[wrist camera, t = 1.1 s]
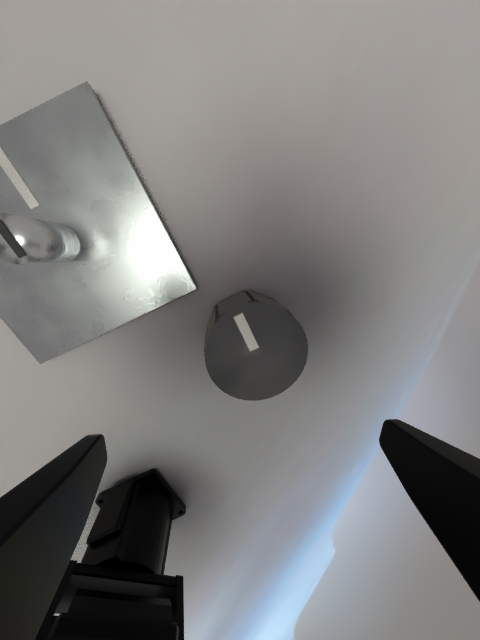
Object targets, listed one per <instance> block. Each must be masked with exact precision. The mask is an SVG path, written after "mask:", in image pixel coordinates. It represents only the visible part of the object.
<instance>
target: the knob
mask: <svg viewBox="0 0 480 640" xmlns="http://www.w3.org/2000/svg"><path fill="white" fill-rule="evenodd" d="M217 304H218V306H214V309H213V312H212V315H211V318H210V321H209V324H208V327H207V329H206V335H205V346H204V351H205V355H204V356H205V362H206V367H207V370H208V373H209V375H210V377H211V379H212V380H213V382H214V383H215V384H216V385H217V386H218V387H219V388H220V389H221V390H222V391H224V392H225V393H227V394H228V395H230V396H233V397H235V398H238V399H243V400H262V399H267V398H271V397H273V396H276V395H278V394H280V393H281V392H283V391H285V390H286V389H287V388H289V387H290V386H291V385H292V384H293V383H294V382H295V381H296V380H297V378H298V377H299V376H300V374H301V372H302V370H303V368H304V366H305V363H306V360H307V354H308V344H307V338H306V335H305V332H304V330H303V328H302V327H301V325H300V324H299V322H298V321H297V320H296V319H295V318H294V317H293V316H292V314H291V313H290V312H288V310H287V309H285V308H284V307H283V306H281V305H280V304H279V303H277V302H276V301H275V300H274V299H271V298H268V297H266V296H263V295H260V294H257V293H254V292H252V291H249V290H247V292H246V293H245V292H244V291H241V292H238V293H236V294H234V295H232V296H230V297H228V298H226V299H224V300H222V301H220V302H218V303H217Z"/></svg>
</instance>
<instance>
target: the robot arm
mask: <svg viewBox="0 0 480 640" xmlns="http://www.w3.org/2000/svg"><path fill="white" fill-rule="evenodd" d="M379 442H380V446H381V448H382V450H383V452H384V453H385V455H386V457H387V459H388V460H389V462H390V464H391V466H392V467H393V469H394V471H395V473H396V474H397V476H398V478H399V480H400V481H401V483H402V485H403V487H404V488H405V490H406V492H407V493H408V495H409V496H410V498H411V500H412V502H413V503H414V505H415V506H416V508H417V509H418V511H419V512H420V514H421V515H422V517H423V518H424V520H425V521H426V523H427V524H428V525H429V527H430V529H431V530H432V531H433V533H434V534H435V536H436V537H437V539H438V540H439V542H440V543H441V545H442V546H443V548H444V549H445V551H446V552H447V554H448V555H449V557H450V558H451V560H452V561H453V563H454V564H455V566H456V567H457V568H458V570H459V572H460V573H461V575H462V576H463V578H464V579H465V581H466V582H467V584H468V585H469V587H470V588H471V590H472V591H473V593H474V594H475V596H476V597H477V599H478V600H479V601H480V459H479V458H477V457H475V456H472V455H470V454H468V453H466V452H464V451H462V450H460V449H458V448H456V447H454V446H452V445H450V444H448V443H446V442H444V441H442V440H439V439H437V438H435V437H433V436H431V435H429V434H427V433H425V432H423V431H421V430H419V429H417V428H414V427H413V426H411V425H409V424H407V423H405V422H402V421H400V420H397V419H390V420H385V421H384V423H383V426H382V430H381V434H380V438H379ZM106 463H107V451H106V445H105V439H104V436H103V435H101V434H96V435H87V436H85V437H84V438H82V439H81V440H80V441H78V442H77V443H75V444H74V445H73V446H71V447H70V448H69V449H67V450H66V451H64V452H63V453H62V454H60V455H59V456H57V457H56V458H55V459H53V460H52V461H50V462H49V463H48V464H46V465H45V466H44V467H42V468H41V469H39V470H38V471H37V472H35V473H34V474H32V475H31V476H30V477H28V478H27V479H25V480H24V481H23V482H21V483H20V484H19V485H17V486H16V487H14V488H13V489H12V490H10V491H9V492H7V493H6V494H5V495H3V496H2V497H0V640H184V605H183V576H180V575H176V577H175V576H168V575H164V568H165V562H166V555H167V549H168V542H169V536H170V529H171V523H172V520H174V519H176V518H178V517H180V516H182V515H184V514H185V512H186V506H185V505H184V504H183V502H182V501H181V500H180V499H179V497H178V496H177V495H176V494H175V493H174V491H173V490H172V489H171V488H170V486H169V485H168V484H167V483H166V481H165V480H164V479H163V478H162V476H161V475H160V474H159V473H158V472H157V471H156V470H151V471H148V472H146V473H144V474H142V475H140V476H138V477H136V478H133V479H131V480H129V481H127V482H125V483H123V484H121V485H118V486H116V487H114V488H112V489H110V490H108V491H106V492H103V493H101V494H99V495H98V497H97V499H96V501H95V502H96V504H97V505H98V506H99V507H100V508H101V509H100V511H99V513H98V515H97V518H96V520H95V522H94V525H93V527H92V529H91V531H90V534H89V536H88V538H87V542H86V544H87V545H88V547H87V549H86V552H85V554H84V556H83V559H82V561H81V563H77V561H74V560H70V559H71V557H72V555H73V552H74V550H75V548H76V546H77V543H78V541H79V539H80V536H81V534H82V532H83V529H84V527H85V524H86V521H87V519H88V516H89V513H90V510H91V507H92V504H93V501H94V499H95V496H96V493H97V490H98V487H99V484H100V481H101V478H102V475H103V473H104V470H105V467H106ZM55 613H58V614H60V615H59V616H54V614H55Z"/></svg>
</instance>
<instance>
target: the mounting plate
mask: <svg viewBox="0 0 480 640" xmlns="http://www.w3.org/2000/svg"><path fill="white" fill-rule="evenodd" d="M195 289H197V285H196V284H195V282H194V280H193V278H192V276H191V274H190V272H189V270H188V268H187V266H186V265H185V263H184V261H183V259H182V257H181V255H180V253H179V251H178V249H177V247H176V245H175V244H174V242H173V240H172V238H171V236H170V234H169V232H168V230H167V228H166V226H165V224H164V223H163V221H162V219H161V217H160V215H159V213H158V211H157V209H156V207H155V205H154V203H153V202H152V200H151V198H150V196H149V194H148V192H147V190H146V188H145V186H144V184H143V183H142V181H141V179H140V177H139V175H138V173H137V171H136V169H135V167H134V165H133V163H132V162H131V160H130V158H129V156H128V154H127V152H126V150H125V148H124V146H123V144H122V142H121V141H120V139H119V137H118V135H117V133H116V131H115V129H114V127H113V125H112V123H111V121H110V120H109V118H108V116H107V114H106V112H105V110H104V108H103V106H102V104H101V102H100V100H99V99H98V97H97V95H96V93H95V92H94V90H93V89H92V88H91V86H90V85H89V83H88V82H85V83H83V84H81V85H79V86H77V87H75V88H73V89H71V90H69V91H67V92H65V93H63V94H61V95H59V96H57V97H55V98H53V99H51V100H49V101H47V102H45V103H43V104H41V105H39V106H37V107H35V108H33V109H31V110H29V111H27V112H25V113H24V114H22V115H20V116H18V117H16V118H14V119H12V120H10V121H8V122H6V123H4V124H2V125H0V318H1V319H2V320H3V321H4V322H5V323H6V325H7V326H8V327H9V328H10V329H11V330H12V332H13V333H14V334H15V335H16V336H17V337H18V339H19V340H20V341H21V342H22V343H23V344H24V346H25V347H26V348H27V349H28V350H29V351H30V353H31V354H32V355H33V356H34V357H35V358H36V360H37V361H38V362H39V363H40V364H42V363H44V362H46V361H48V360H50V359H52V358H54V357H56V356H58V355H60V354H62V353H64V352H66V351H69V350H71V349H73V348H75V347H77V346H79V345H81V344H83V343H85V342H87V341H89V340H91V339H93V338H96V337H98V336H100V335H102V334H104V333H106V332H108V331H110V330H112V329H114V328H116V327H118V326H120V325H123V324H125V323H127V322H129V321H131V320H133V319H135V318H137V317H139V316H141V315H143V314H145V313H147V312H149V311H152V310H154V309H156V308H158V307H160V306H162V305H164V304H166V303H168V302H170V301H172V300H174V299H176V298H179V297H181V296H183V295H185V294H187V293H189V292H191V291H193V290H195Z"/></svg>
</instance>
